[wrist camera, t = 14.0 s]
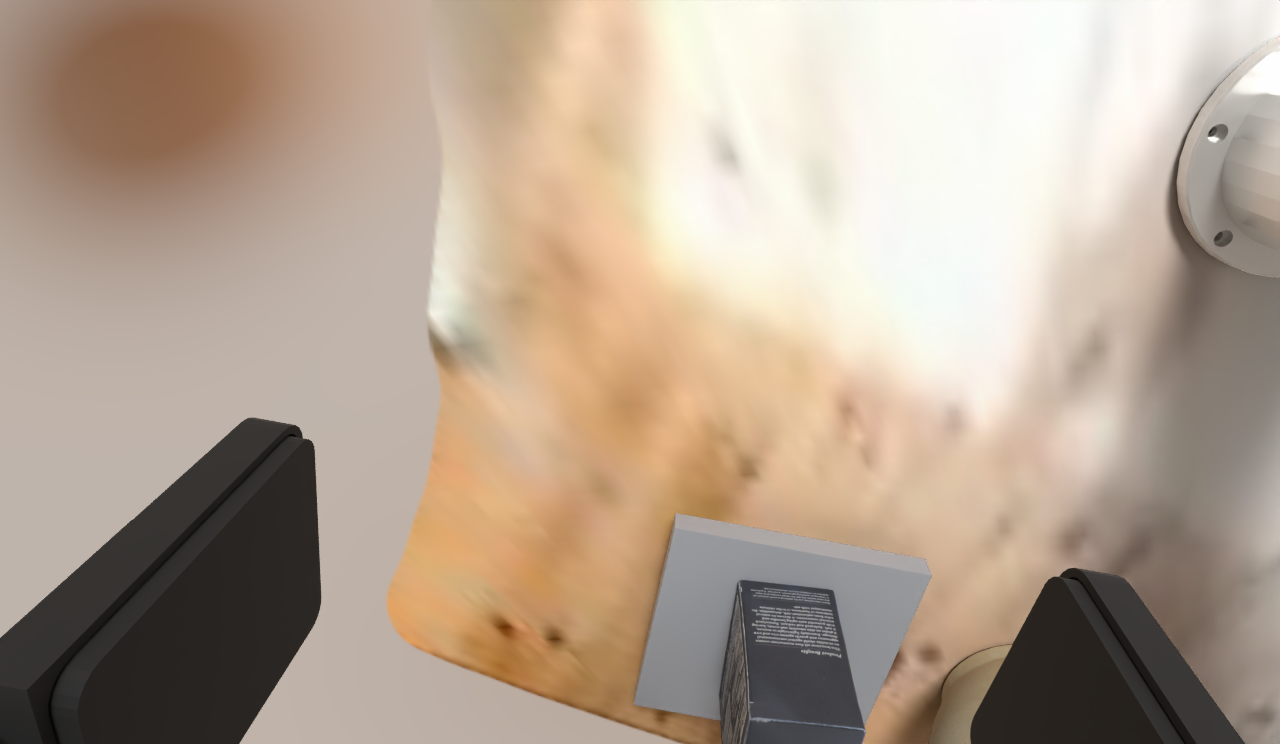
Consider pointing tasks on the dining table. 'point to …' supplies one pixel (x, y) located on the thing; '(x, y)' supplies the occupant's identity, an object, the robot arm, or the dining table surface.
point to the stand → (726, 553)
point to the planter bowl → (965, 695)
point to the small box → (787, 669)
